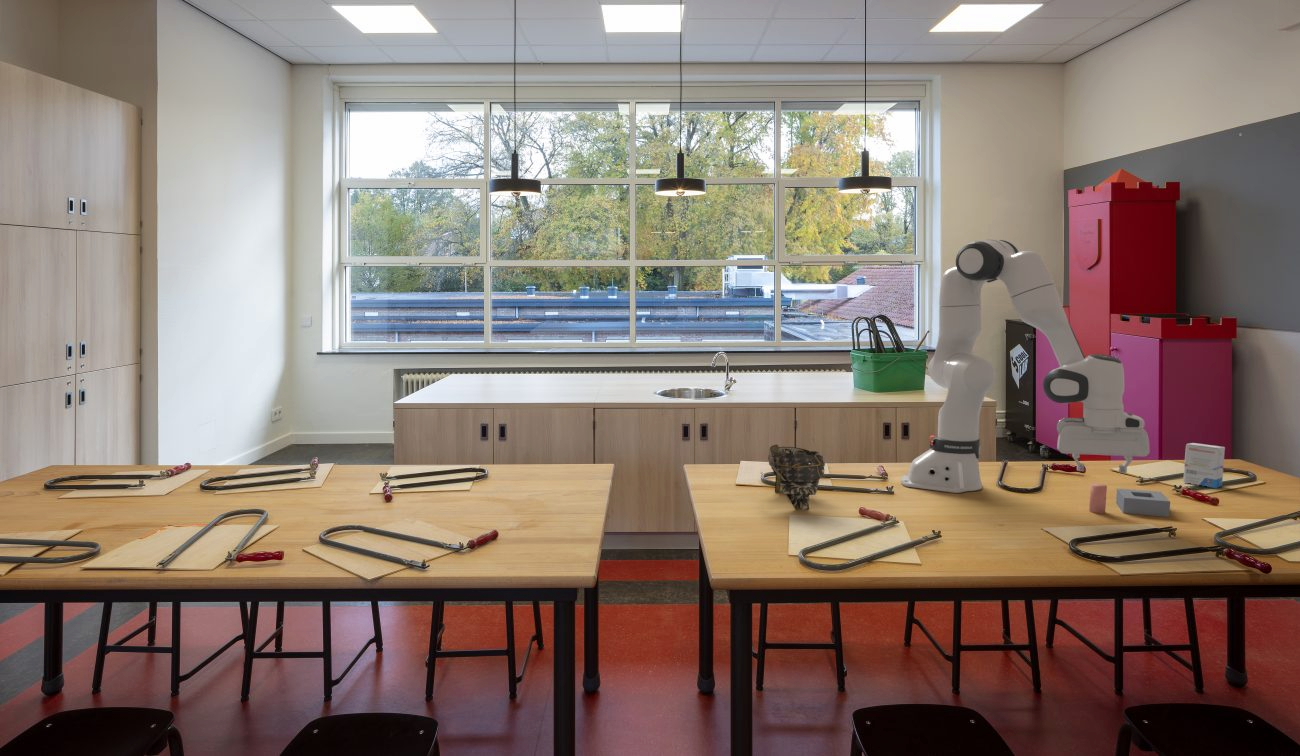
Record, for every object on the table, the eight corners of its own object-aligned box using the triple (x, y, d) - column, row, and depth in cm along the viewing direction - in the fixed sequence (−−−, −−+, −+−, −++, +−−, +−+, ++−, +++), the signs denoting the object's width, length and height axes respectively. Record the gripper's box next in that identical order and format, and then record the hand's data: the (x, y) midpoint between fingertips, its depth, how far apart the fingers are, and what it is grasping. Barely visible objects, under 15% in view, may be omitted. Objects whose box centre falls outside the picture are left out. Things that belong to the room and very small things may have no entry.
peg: (1090, 512, 197) (1091, 486, 196) (1088, 509, 200) (1089, 483, 200) (1106, 514, 196) (1108, 487, 195) (1103, 510, 199) (1105, 484, 198)
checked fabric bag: (760, 493, 223) (762, 442, 222) (812, 494, 223) (814, 443, 222) (775, 510, 200) (777, 453, 200) (833, 511, 201) (835, 454, 200)
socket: (1123, 513, 197) (1124, 497, 196) (1116, 502, 206) (1116, 488, 205) (1169, 516, 193) (1170, 501, 193) (1159, 506, 202) (1160, 491, 202)
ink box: (1223, 486, 222) (1226, 446, 221) (1216, 488, 219) (1219, 448, 218) (1189, 480, 229) (1192, 441, 228) (1182, 482, 226) (1185, 443, 225)
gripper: (1058, 419, 196) (1057, 472, 198) (1152, 421, 188) (1150, 476, 190) (1055, 415, 202) (1054, 466, 203) (1146, 417, 194) (1144, 470, 196)
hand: (1101, 471), depth 196 cm, fingers open, 8 cm apart
